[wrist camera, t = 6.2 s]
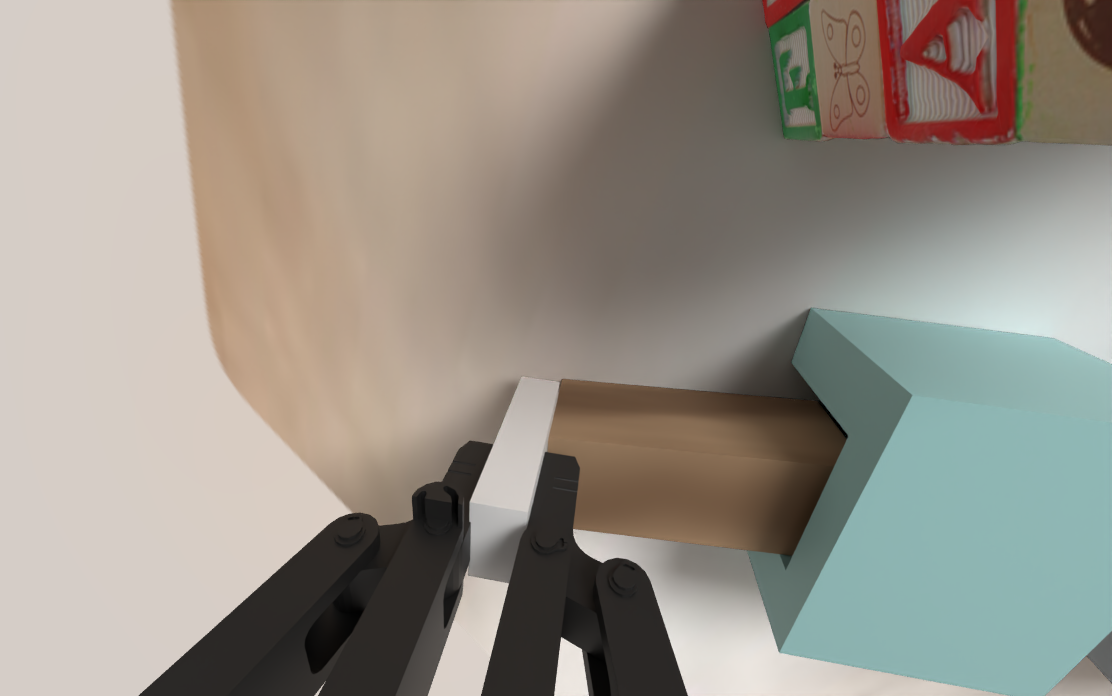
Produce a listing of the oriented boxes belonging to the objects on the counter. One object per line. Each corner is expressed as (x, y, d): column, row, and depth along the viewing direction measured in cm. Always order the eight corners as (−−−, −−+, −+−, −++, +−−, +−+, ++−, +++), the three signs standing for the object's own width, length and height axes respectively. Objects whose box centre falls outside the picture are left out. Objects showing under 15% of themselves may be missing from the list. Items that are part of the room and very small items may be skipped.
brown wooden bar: (562, 378, 18) (548, 437, 15) (817, 400, 17) (870, 470, 13) (559, 456, 20) (546, 525, 16) (790, 480, 19) (831, 560, 15)
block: (811, 307, 16) (912, 395, 10) (1054, 338, 15) (1299, 448, 10) (736, 514, 20) (778, 652, 14) (921, 544, 19) (1039, 701, 14)
